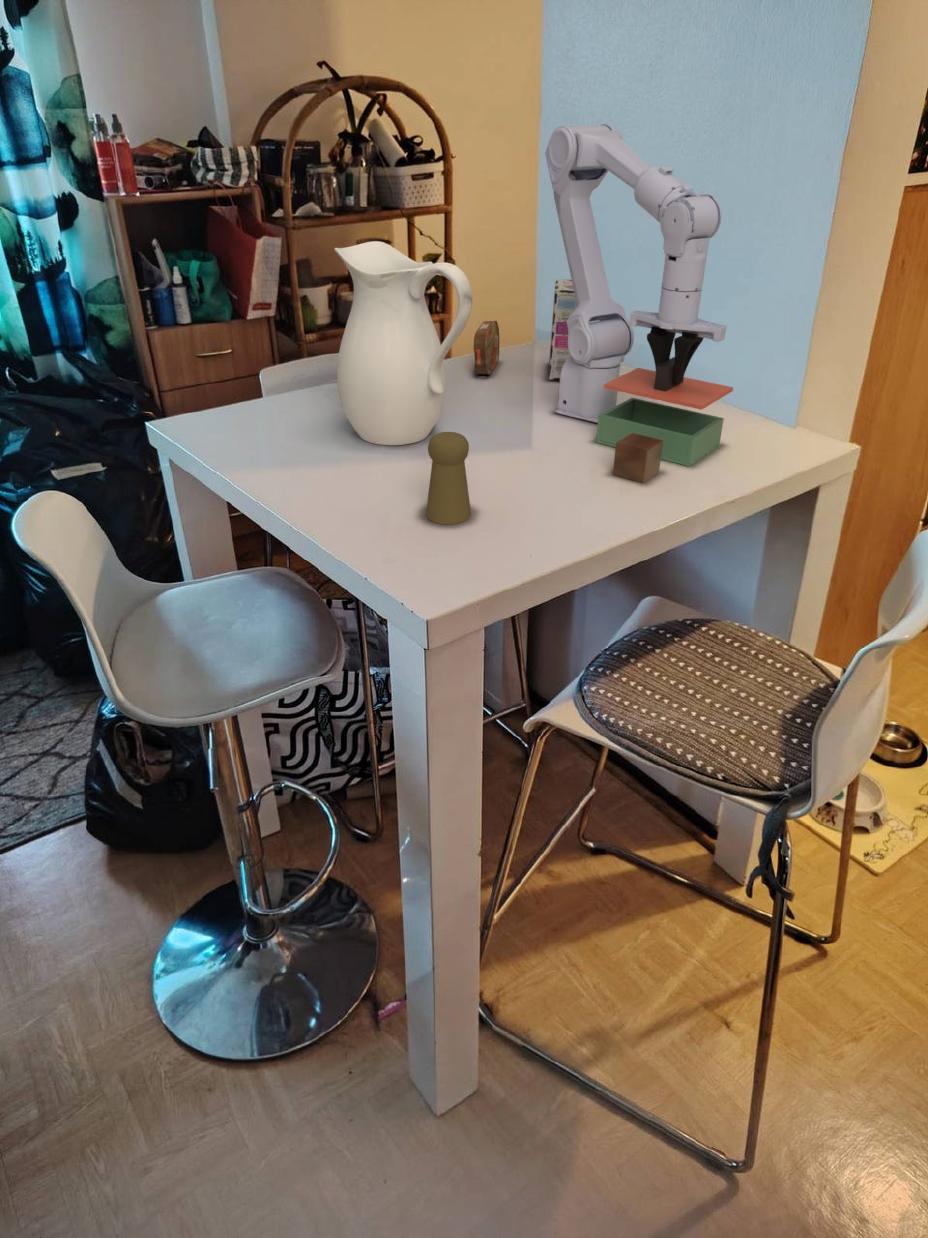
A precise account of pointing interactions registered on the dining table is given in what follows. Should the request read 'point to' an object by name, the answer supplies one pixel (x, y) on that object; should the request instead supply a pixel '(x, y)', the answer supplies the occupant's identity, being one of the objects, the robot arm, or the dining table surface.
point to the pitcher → (394, 344)
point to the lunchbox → (662, 429)
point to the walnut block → (637, 457)
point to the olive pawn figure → (448, 479)
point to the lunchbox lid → (669, 387)
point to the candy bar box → (561, 326)
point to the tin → (486, 347)
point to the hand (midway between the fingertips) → (669, 380)
